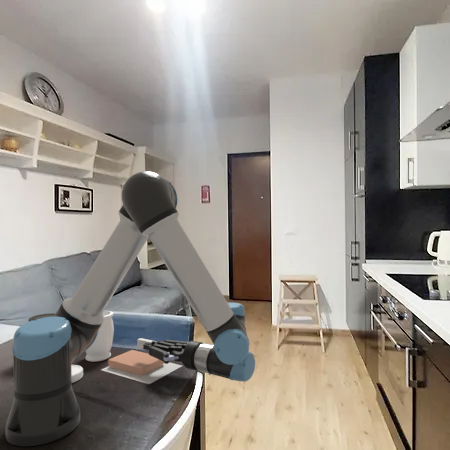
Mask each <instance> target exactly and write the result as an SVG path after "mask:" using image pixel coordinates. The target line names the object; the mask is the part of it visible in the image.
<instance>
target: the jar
mask: <svg viewBox="0 0 450 450" xmlns="http://www.w3.org/2000/svg"><path fill="white" fill-rule="evenodd" d="M102 313H103V317H104V321H103V323H102V325H101V326H100V328H99V330H98V334H97V337H96V339H95V341H94V343H93V344H92V345H91V346H90V347H89V348H88V349H87V350H86V351H84V352H85V354H86V355H85V357H84V359H85V361H88V362H93V363H94V362H102V361H105V360H107V359H108V360H109V359H110V358H111V356H112V353H111V349H112V347H113V341H114V340H113V339H114V333H115V327H114V320H113V316H114V312H113V311H112V310H104V311H103V312H102Z"/></svg>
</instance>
